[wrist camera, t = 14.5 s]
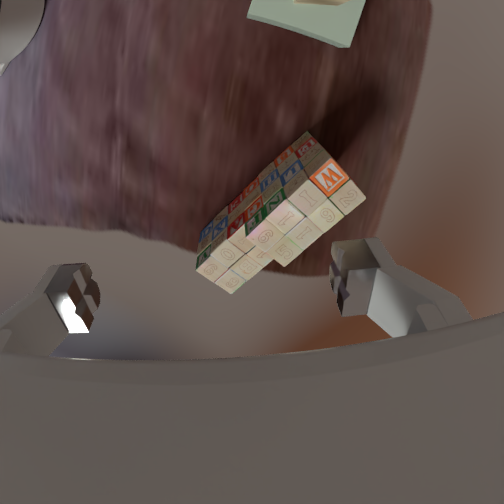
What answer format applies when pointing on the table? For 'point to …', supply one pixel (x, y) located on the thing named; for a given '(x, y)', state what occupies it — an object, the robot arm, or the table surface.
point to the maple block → (321, 2)
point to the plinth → (311, 18)
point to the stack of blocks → (277, 215)
